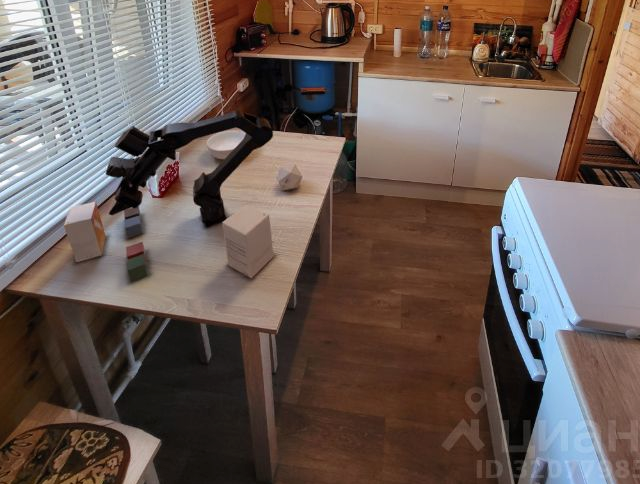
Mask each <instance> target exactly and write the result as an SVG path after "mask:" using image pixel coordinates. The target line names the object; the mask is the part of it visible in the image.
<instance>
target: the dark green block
mask: <svg viewBox="0 0 640 484" xmlns="http://www.w3.org/2000/svg"><path fill="white" fill-rule="evenodd" d="M126 270H127V274H128V278H129V282H130V283H131V282H135V281H137V280H139V279H142V278H144V277H148V276H149V273H148V266H147V260H146V261H145V257H144V254H142V255H140V256H137V257H134V258H131V259H129V260H127V259H126Z"/></svg>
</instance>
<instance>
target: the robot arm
mask: <svg viewBox="0 0 640 484" xmlns="http://www.w3.org/2000/svg"><path fill="white" fill-rule="evenodd" d="M234 129H239V130H240V131H243V132H245V133H246V134H245V137H244V139H243V140H242V141H241V142H240V143H239V144H238V145H237V146H236V148H235V149H234V150H233V151H232V152H231V153H230V154H229V155H228V156H227V157H226V158H225V159H222V161H221V162H220V163H219V164H218V166H216V167H215V168H214V170H212V172H210V173H205V172H202V173H201V174H200V175H199V177H198V178H196V179H194V181H193V186H192V200H193V203H194V204H195V205H196V206H198V207H199V213H200V219H201V222H202V224H204V226H205V228H209V227H212V226H215V225H217V224H222V222H224V221H225V220H226V219H227V218H228V217H227V215H226V212H225V211H226V210H225V203H224V200H223V198H222V193H221V187H222V185H223V184H224V182H226V181H227V180H228V179H229V177H230V176H231V175H232V174H233V173H234V172H235V171H236V170H237V169H238V168H239V167H240V165H241V164H242V163H243V162H244V161H245V160H246V159H247V158H248V157H249V156H250V155H251V153H253V152H254V151H255V150H257V149H260V148H262V147H264V146H265V145H266V144H268V143H269V142H270V141H271V140H272V139H273V137H274V131H273V129H272V126H271V124H270V122H269V120H268V119H267V118H265V117H258V116H256V115H253V114H250V113H246V112H244V111H242V110H238V109H237V110H233V111H232V112H229V113H225V114H221V115H216V116H214V117H210V118H207V119H202V120H199V121H195V122H174V123H168V124H166V125H164V126H163V127H162V128H159V129H154V130H150V131H149V134H147V133H146V132H143V131H142V130H140V129H139V128H137V127H136V126H134V125H131V126H130V127H129V128H128V129H126V130H125V131H123V133H122V134H121V135H120V136H119V138H118V139H117V141H116V142H115V144H114V148H116V149H118V150H120V151H122V152H124V153H126V154H129V155H130V156H132V158H126V157H125V158H124V157H118V156H112V157H111V156H110V159H109V162H108V164H107V168H106V170H105V175H106V176H109V177H111V178H117V179H120V178H121V180H120V182H119V184H118V185H117V187H116V189H115V192H114V201H115V202H114V203H113V205H112V207H111V208H110V210H109V212H108V215H110V216H115V215H117V214H119V213H122V212H124V210H126V209H129V208H138V206H139V207H140V206H141V204H142V202H143V197H144V193H143V191H141V190H139V189H140V188H143V189H144V188H145V187H146V186H147V183H148V181H149V180H150V178H154V177H155V176H156V175H157V174H156V173H157V170H158V169H159V168H160V167H161V166H162V165H163V164H164V162H166V160H167V159H171V160H172V161H176V160H177V152H176V151H177V150H179V149H181V148H184V147H186V146H187V145H189V144H190V143H192V142H193V141H195V140H197V139H200V138H203V137H207V136H212V135H215V134H217V133H220V132H223V131H229V130H234ZM133 157H135V158H133Z"/></svg>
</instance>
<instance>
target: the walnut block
mask: <svg viewBox="0 0 640 484" xmlns="http://www.w3.org/2000/svg"><path fill="white" fill-rule="evenodd" d="M123 215H124V221H125V220H127V219H130V218H133V217H136V216H140V219H141V223H142V224H143V222H142V214H141V210H140V205H139V206H138V208H132V207H131V208H129V209H126V210H124V211H123Z"/></svg>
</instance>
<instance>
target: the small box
mask: <svg viewBox="0 0 640 484" xmlns="http://www.w3.org/2000/svg"><path fill="white" fill-rule="evenodd" d="M63 228H64V230H65V233H66V236H67V239H68V242H69V246H70V248H71V251H72V254H73V258H74V260H75V263H79V262H82V261H86V260H90V259H93V258H97V257H100V256H103V251H104V246H105V241H106V239H107V236H106V232H105V229H104V225H103V221H102V218H101V214H100V211H99V208H98V204H97V201H93V202H88V203H84V204H83V203H82V204H78V205H74V206H71V207H70V208H69V210H68V213H67V215H66V217H65V221H64V224H63Z"/></svg>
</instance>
